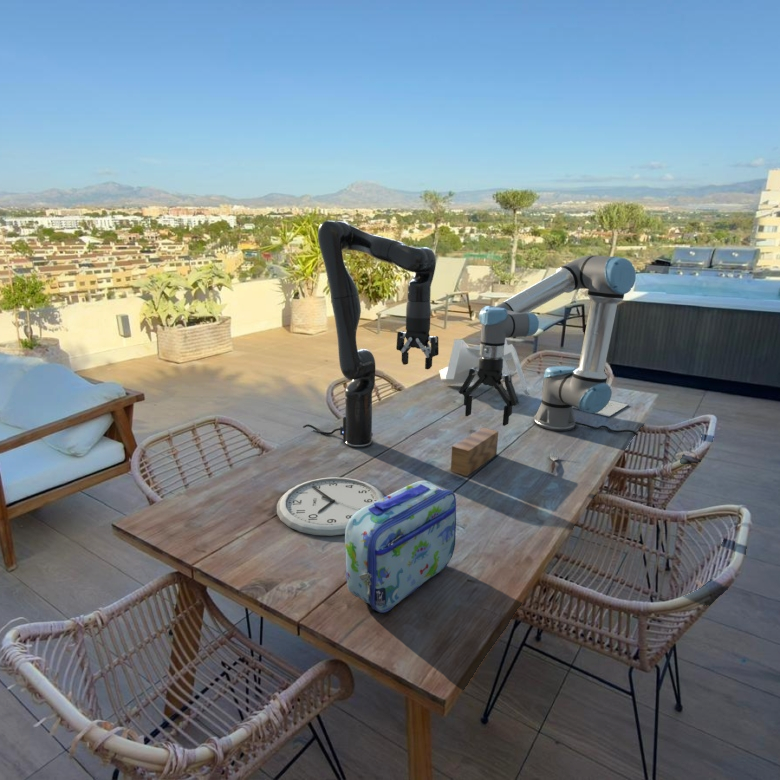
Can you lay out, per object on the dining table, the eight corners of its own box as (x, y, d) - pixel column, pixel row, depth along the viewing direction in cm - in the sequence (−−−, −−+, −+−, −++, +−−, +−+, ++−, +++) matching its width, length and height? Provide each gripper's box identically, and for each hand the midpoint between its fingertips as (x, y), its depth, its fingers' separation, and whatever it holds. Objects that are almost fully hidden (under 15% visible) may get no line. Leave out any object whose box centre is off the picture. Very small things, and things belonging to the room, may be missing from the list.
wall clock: (392, 527, 129) (268, 531, 127) (391, 533, 130) (269, 537, 127) (383, 473, 158) (282, 475, 155) (383, 478, 158) (282, 480, 156)
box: (481, 450, 180) (482, 427, 177) (496, 454, 177) (498, 431, 174) (450, 471, 164) (451, 446, 162) (466, 476, 161) (468, 451, 158)
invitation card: (608, 416, 214) (573, 407, 224) (608, 416, 214) (573, 408, 224) (628, 404, 229) (594, 396, 238) (628, 405, 229) (594, 397, 238)
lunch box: (374, 626, 100) (375, 530, 93) (338, 598, 107) (337, 508, 101) (459, 568, 117) (465, 484, 111) (424, 547, 124) (427, 467, 118)
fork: (547, 473, 163) (548, 467, 163) (550, 454, 177) (551, 448, 177) (556, 475, 162) (556, 469, 162) (558, 455, 177) (559, 449, 176)
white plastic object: (461, 429, 252) (437, 405, 227) (444, 352, 274) (420, 323, 250) (535, 404, 240) (518, 377, 215) (510, 326, 262) (492, 293, 237)
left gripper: (392, 314, 161) (391, 365, 166) (431, 319, 153) (429, 372, 158) (406, 311, 167) (404, 360, 171) (444, 316, 159) (442, 368, 163)
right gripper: (451, 353, 170) (447, 414, 176) (523, 365, 156) (517, 432, 162) (462, 349, 176) (459, 408, 182) (533, 361, 162) (526, 425, 168)
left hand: (416, 366), depth 165 cm, fingers open, 8 cm apart
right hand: (486, 419), depth 172 cm, fingers open, 13 cm apart
